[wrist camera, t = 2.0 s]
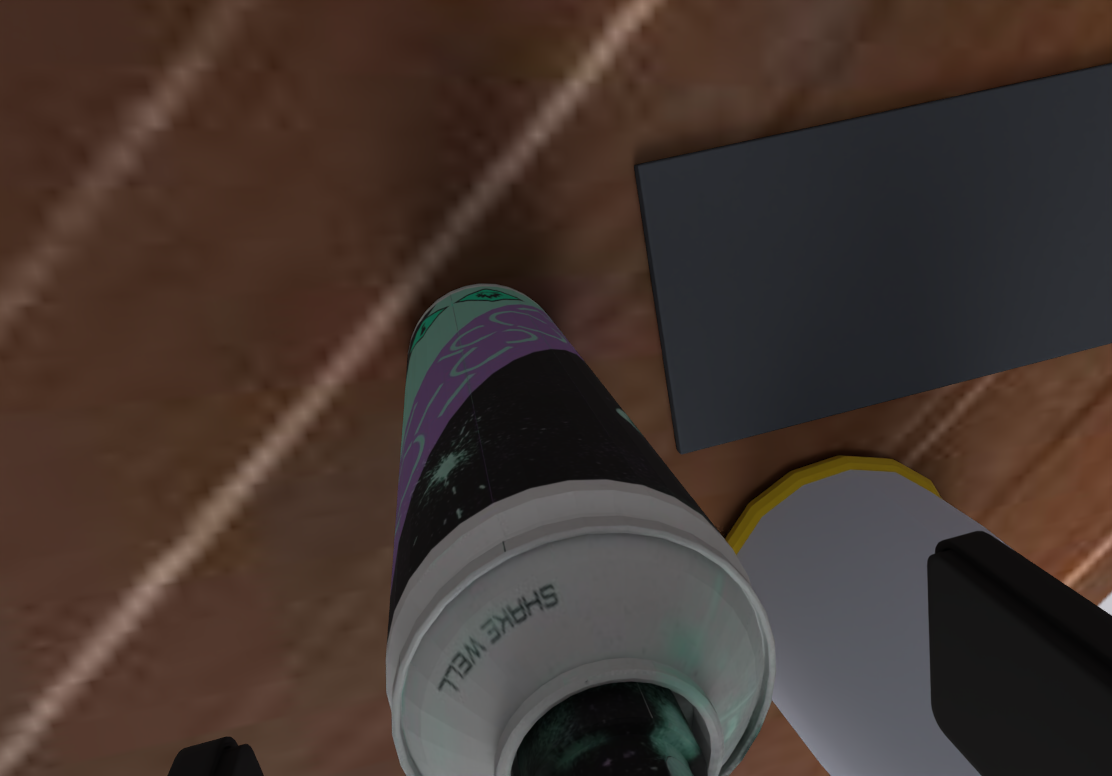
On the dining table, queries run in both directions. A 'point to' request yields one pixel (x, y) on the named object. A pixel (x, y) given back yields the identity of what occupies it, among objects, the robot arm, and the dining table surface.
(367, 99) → the dining table surface
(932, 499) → the soap bottle
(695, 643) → the spray can
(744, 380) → the mat
